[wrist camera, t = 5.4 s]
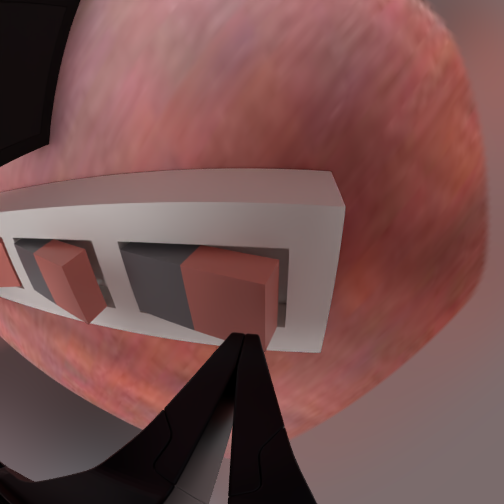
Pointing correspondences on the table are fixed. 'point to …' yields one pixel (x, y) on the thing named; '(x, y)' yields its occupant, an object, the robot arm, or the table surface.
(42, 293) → the rocker
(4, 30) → the black cubic block
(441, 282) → the table surface
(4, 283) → the rocker
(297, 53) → the table surface
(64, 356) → the table surface
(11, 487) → the robot arm
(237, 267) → the rocker
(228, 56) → the table surface
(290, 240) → the rocker switch panel
